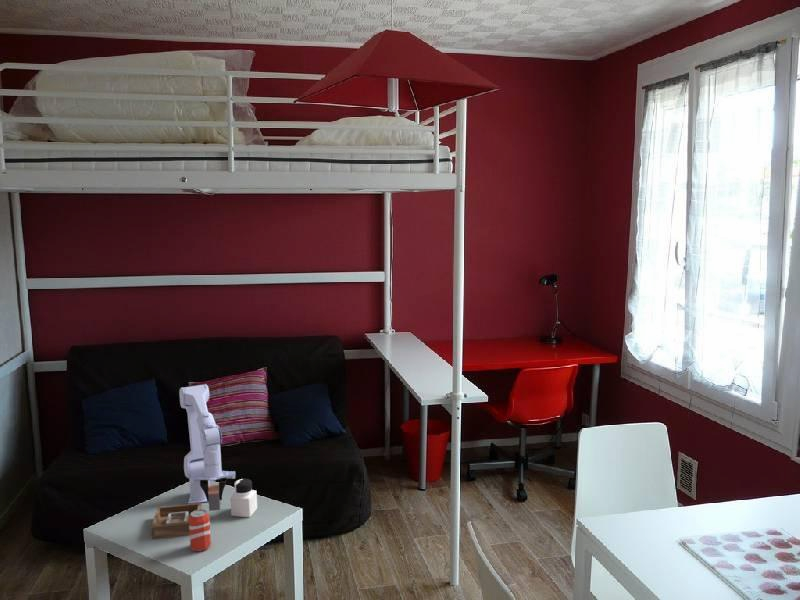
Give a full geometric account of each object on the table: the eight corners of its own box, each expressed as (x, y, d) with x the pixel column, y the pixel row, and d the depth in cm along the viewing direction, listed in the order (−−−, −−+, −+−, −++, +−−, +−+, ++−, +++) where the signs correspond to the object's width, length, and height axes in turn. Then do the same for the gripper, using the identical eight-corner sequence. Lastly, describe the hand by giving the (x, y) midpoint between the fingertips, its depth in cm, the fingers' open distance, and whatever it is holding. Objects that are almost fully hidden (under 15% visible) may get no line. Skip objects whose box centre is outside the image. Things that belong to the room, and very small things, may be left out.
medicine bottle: (257, 508, 243) (256, 477, 241) (250, 517, 236) (248, 485, 234) (239, 507, 244) (237, 476, 242) (231, 516, 237) (229, 484, 235)
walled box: (158, 517, 237) (157, 507, 236) (202, 513, 240) (201, 502, 239) (151, 538, 222) (151, 527, 222) (198, 533, 225) (197, 522, 225)
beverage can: (205, 540, 221) (203, 506, 219) (214, 547, 216) (212, 513, 214) (187, 547, 217) (185, 512, 215) (196, 554, 212) (194, 519, 210)
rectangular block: (210, 504, 232) (209, 485, 231) (220, 503, 232) (219, 484, 231) (209, 510, 227) (208, 491, 226) (219, 509, 228) (218, 490, 226)
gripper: (189, 468, 222) (191, 506, 224) (233, 464, 225) (235, 502, 227) (191, 460, 229) (193, 497, 231) (234, 456, 231) (236, 493, 234)
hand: (214, 499), depth 229 cm, fingers closed on rectangular block, 3 cm apart
